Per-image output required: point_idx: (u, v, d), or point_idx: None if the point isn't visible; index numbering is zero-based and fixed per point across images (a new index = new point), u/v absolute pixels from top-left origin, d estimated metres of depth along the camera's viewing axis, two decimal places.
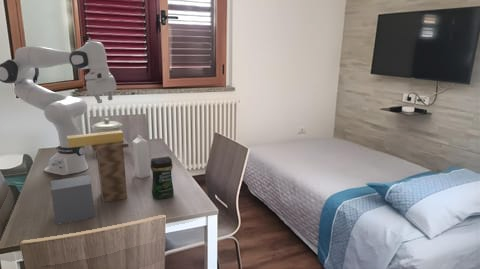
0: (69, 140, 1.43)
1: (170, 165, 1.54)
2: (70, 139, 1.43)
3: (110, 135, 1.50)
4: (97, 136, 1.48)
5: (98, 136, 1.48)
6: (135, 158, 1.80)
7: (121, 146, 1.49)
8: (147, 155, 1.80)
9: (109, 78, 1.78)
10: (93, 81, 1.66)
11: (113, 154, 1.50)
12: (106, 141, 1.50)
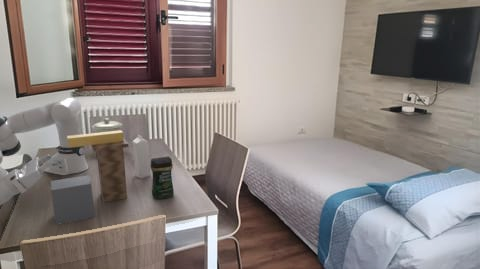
0: (69, 140, 1.43)
1: (170, 165, 1.54)
2: (70, 139, 1.43)
3: (110, 135, 1.50)
4: (97, 136, 1.48)
5: (98, 136, 1.48)
6: (135, 158, 1.80)
7: (121, 146, 1.49)
8: (147, 155, 1.80)
9: (22, 169, 1.43)
10: (20, 180, 1.32)
11: (113, 154, 1.50)
12: (106, 141, 1.50)
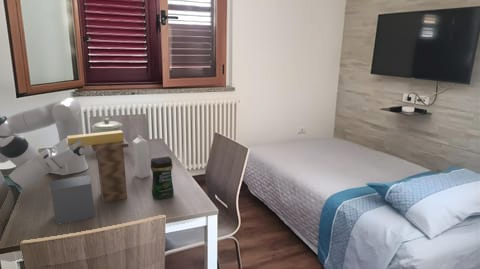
0: (69, 140, 1.43)
1: (170, 165, 1.54)
2: (70, 139, 1.43)
3: (110, 135, 1.50)
4: (97, 136, 1.48)
5: (98, 136, 1.48)
6: (135, 158, 1.80)
7: (121, 146, 1.49)
8: (147, 155, 1.80)
9: None
10: (54, 158, 1.35)
11: (113, 154, 1.50)
12: (106, 141, 1.50)
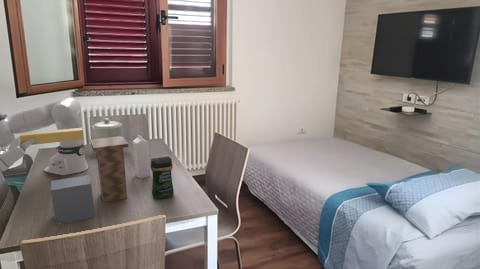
0: (21, 138, 1.32)
1: (170, 165, 1.54)
2: (22, 137, 1.32)
3: (68, 133, 1.39)
4: (53, 134, 1.37)
5: (54, 134, 1.37)
6: (135, 158, 1.80)
7: (121, 146, 1.49)
8: (147, 155, 1.80)
9: (5, 147, 1.36)
10: (1, 157, 1.25)
11: (113, 154, 1.50)
12: (63, 139, 1.39)
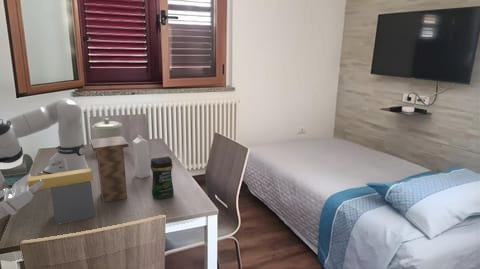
0: (29, 183, 1.29)
1: (170, 165, 1.54)
2: (31, 182, 1.29)
3: (77, 175, 1.36)
4: (62, 177, 1.34)
5: (63, 177, 1.34)
6: (135, 158, 1.80)
7: (121, 146, 1.49)
8: (147, 155, 1.80)
9: (12, 187, 1.32)
10: (9, 201, 1.21)
11: (113, 154, 1.50)
12: (72, 182, 1.36)
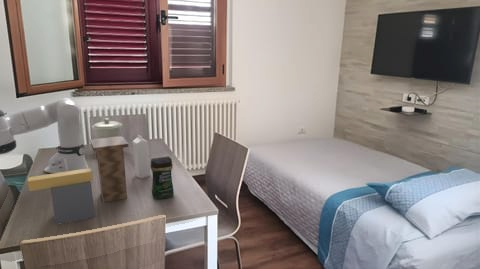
0: (29, 183, 1.29)
1: (170, 165, 1.54)
2: (31, 182, 1.29)
3: (77, 175, 1.36)
4: (62, 177, 1.34)
5: (63, 177, 1.34)
6: (135, 158, 1.80)
7: (121, 146, 1.49)
8: (147, 155, 1.80)
9: None
10: None
11: (113, 154, 1.50)
12: (72, 182, 1.36)
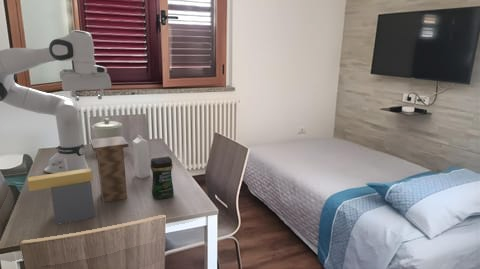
0: (29, 183, 1.29)
1: (170, 165, 1.54)
2: (31, 182, 1.29)
3: (77, 175, 1.36)
4: (62, 177, 1.34)
5: (63, 177, 1.34)
6: (135, 158, 1.80)
7: (121, 146, 1.49)
8: (147, 155, 1.80)
9: None
10: None
11: (113, 154, 1.50)
12: (72, 182, 1.36)
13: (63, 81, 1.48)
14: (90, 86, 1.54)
